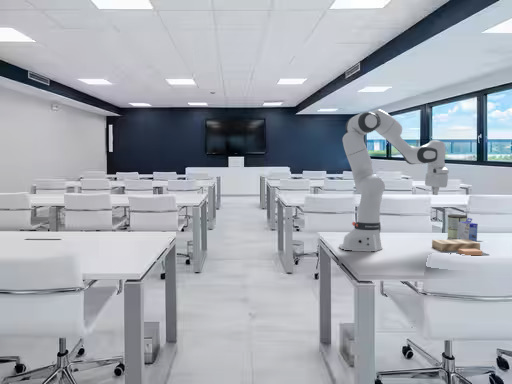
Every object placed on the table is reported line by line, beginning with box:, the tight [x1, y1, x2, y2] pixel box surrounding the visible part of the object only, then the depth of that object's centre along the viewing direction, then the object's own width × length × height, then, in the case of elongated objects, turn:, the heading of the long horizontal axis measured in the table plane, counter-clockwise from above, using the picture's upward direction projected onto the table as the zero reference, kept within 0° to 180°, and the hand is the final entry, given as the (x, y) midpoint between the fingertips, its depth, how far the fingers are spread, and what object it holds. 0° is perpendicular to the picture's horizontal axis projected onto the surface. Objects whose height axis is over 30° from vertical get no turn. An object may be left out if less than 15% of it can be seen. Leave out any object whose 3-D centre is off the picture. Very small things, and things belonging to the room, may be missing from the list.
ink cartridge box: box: [457, 217, 479, 242], centre depth 233 cm, size 10×6×14 cm, turn 11°
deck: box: [431, 239, 481, 252], centre depth 221 cm, size 20×11×4 cm, turn 92°
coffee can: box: [447, 213, 468, 240], centre depth 250 cm, size 10×10×14 cm
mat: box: [443, 251, 490, 256], centre depth 210 cm, size 18×10×1 cm, turn 92°
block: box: [458, 249, 483, 256], centre depth 207 cm, size 9×6×2 cm, turn 92°
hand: (435, 194), depth 232 cm, fingers closed
